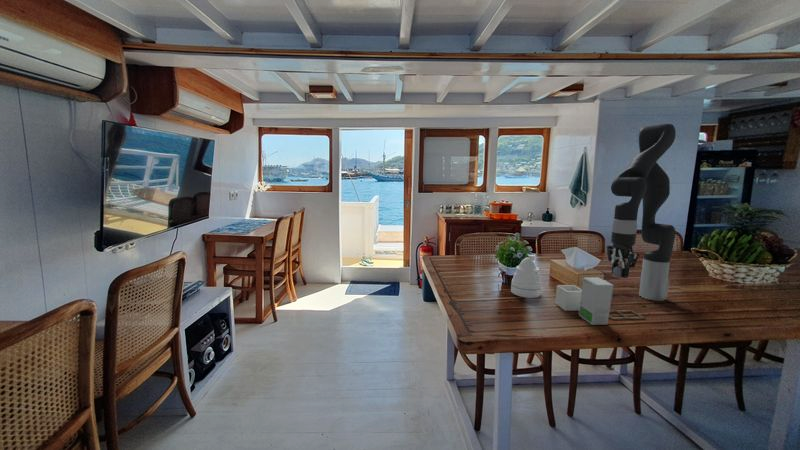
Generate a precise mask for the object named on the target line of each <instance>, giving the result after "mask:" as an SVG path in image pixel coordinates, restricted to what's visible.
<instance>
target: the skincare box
mask: <svg viewBox="0 0 800 450" xmlns="http://www.w3.org/2000/svg"><path fill="white" fill-rule="evenodd" d="M582 280H583V281H582V286H581V287H582V288H581V289H582V294H581V301H580V309H579V311H578V316H579V317H581V319H583V320H585V321H586V322H588V323H589V324H590V325H591V326H599V325H603V326H604V325H605V326H606V325H608V324H609V319H610V318H609V315H610V313H609V312H610V310H611V304H612V297H613V290H614V284H612V283H610V282H608V281H607V280H605V279H602V278H600V277H597V276H596V277H592V276H591V277H583V279H582Z"/></svg>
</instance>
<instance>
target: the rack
mask: <svg viewBox="0 0 800 450" xmlns="http://www.w3.org/2000/svg"><path fill="white" fill-rule="evenodd" d="M611 313H612V314H613V313H616V314H618V315H620V316H621V317H620V316H618V317H617V316H615V317H613V316H612V315H610V314H611ZM624 313H631V314H633V315H635V316H627V315H625V314H624ZM609 319H610V320H611V321H616V320H617V321H619V320H622V321H623V320H625V321H626V320H629V321H630V320H646V317H645V316H644V315H641V314H640V313H637V312H636V311H634V310H632V309H625V310H624V309H622V310H620V309H617V310H615V309H613V310H611V309H610V312H609Z"/></svg>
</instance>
